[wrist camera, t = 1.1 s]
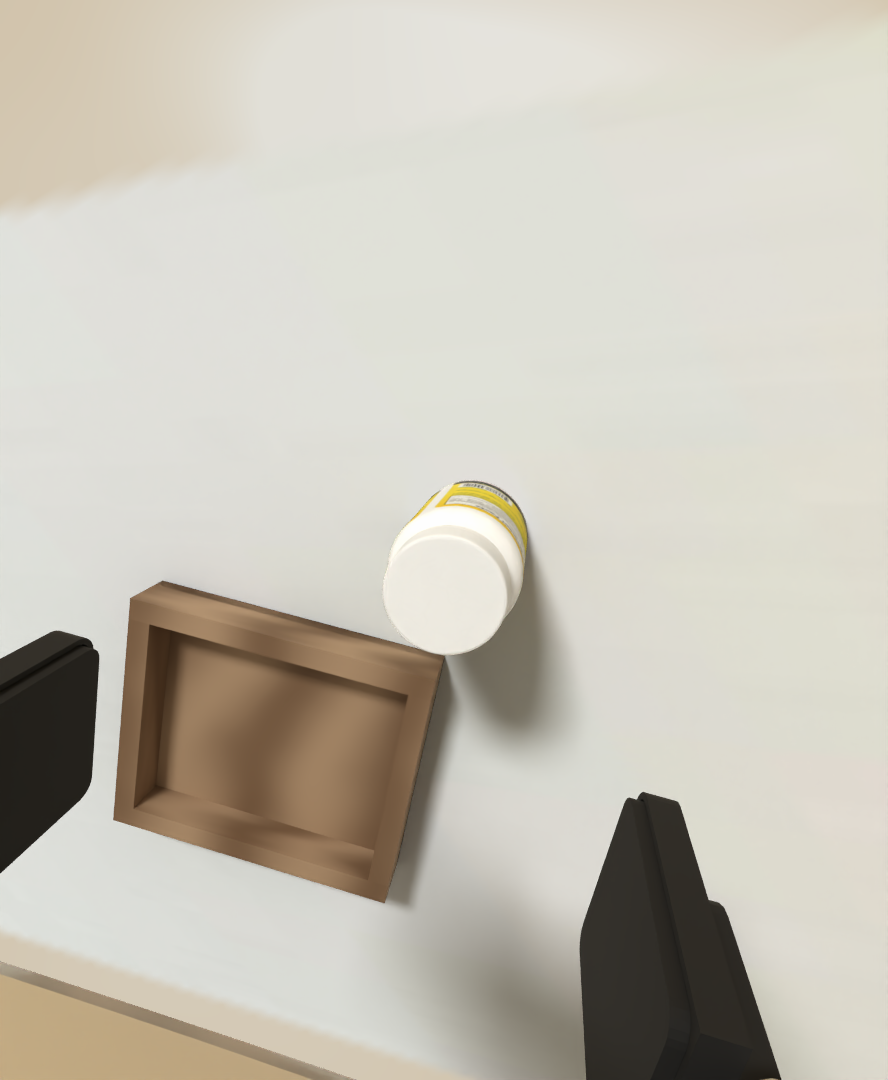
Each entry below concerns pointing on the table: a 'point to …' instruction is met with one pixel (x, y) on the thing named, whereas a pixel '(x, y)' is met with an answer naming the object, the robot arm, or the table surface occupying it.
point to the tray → (271, 736)
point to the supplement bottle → (456, 568)
